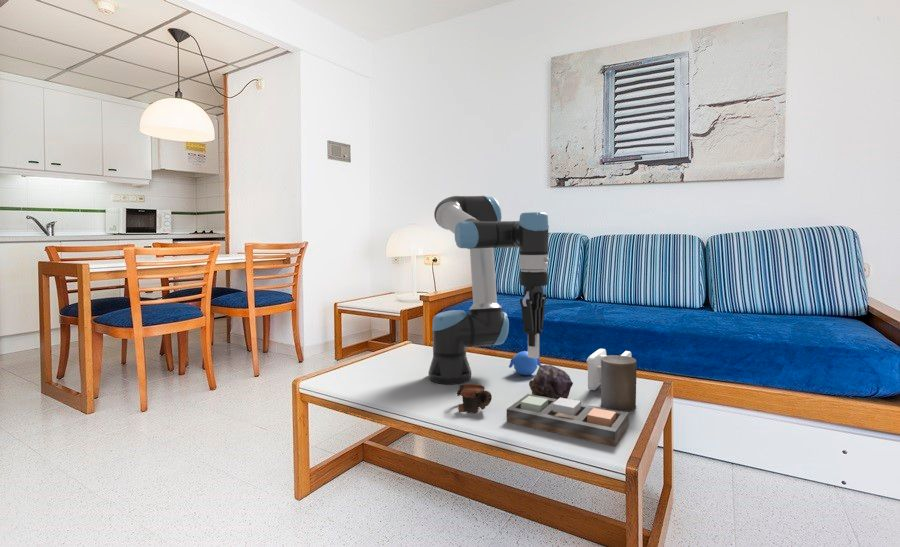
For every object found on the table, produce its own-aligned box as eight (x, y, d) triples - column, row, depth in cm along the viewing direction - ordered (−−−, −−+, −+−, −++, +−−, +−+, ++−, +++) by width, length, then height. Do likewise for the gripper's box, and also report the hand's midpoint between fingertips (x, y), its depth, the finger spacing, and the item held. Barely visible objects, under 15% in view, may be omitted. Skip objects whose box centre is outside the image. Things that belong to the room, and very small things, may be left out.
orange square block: (587, 422, 115) (587, 414, 115) (593, 415, 120) (593, 407, 120) (610, 427, 112) (610, 419, 112) (615, 419, 117) (616, 411, 117)
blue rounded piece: (535, 368, 174) (535, 345, 173) (545, 377, 162) (545, 353, 161) (503, 369, 172) (503, 347, 172) (511, 379, 160) (511, 355, 160)
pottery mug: (448, 412, 132) (450, 383, 135) (468, 418, 138) (469, 390, 142) (482, 410, 125) (484, 380, 128) (502, 416, 131) (502, 387, 135)
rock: (558, 409, 135) (577, 399, 142) (562, 381, 133) (581, 372, 140) (524, 393, 144) (544, 384, 151) (527, 366, 142) (547, 359, 149)
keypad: (506, 421, 123) (506, 409, 123) (527, 405, 135) (527, 393, 135) (615, 446, 108) (615, 431, 108) (628, 425, 119) (628, 412, 119)
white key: (552, 411, 120) (552, 403, 120) (560, 404, 125) (560, 397, 125) (573, 415, 117) (573, 407, 117) (580, 408, 122) (580, 401, 122)
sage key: (520, 409, 125) (520, 401, 125) (529, 402, 130) (529, 395, 130) (540, 413, 122) (540, 405, 122) (548, 406, 127) (548, 399, 127)
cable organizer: (620, 398, 140) (621, 360, 139) (585, 392, 146) (586, 356, 145) (631, 384, 152) (632, 350, 151) (599, 379, 158) (599, 346, 157)
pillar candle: (643, 406, 133) (643, 355, 132) (622, 414, 127) (623, 360, 126) (613, 397, 141) (614, 349, 139) (593, 404, 135) (593, 354, 134)
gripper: (537, 272, 116) (537, 365, 118) (555, 269, 127) (555, 353, 129) (510, 271, 120) (510, 361, 122) (530, 268, 131) (530, 350, 133)
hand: (533, 357), depth 125 cm, fingers closed
